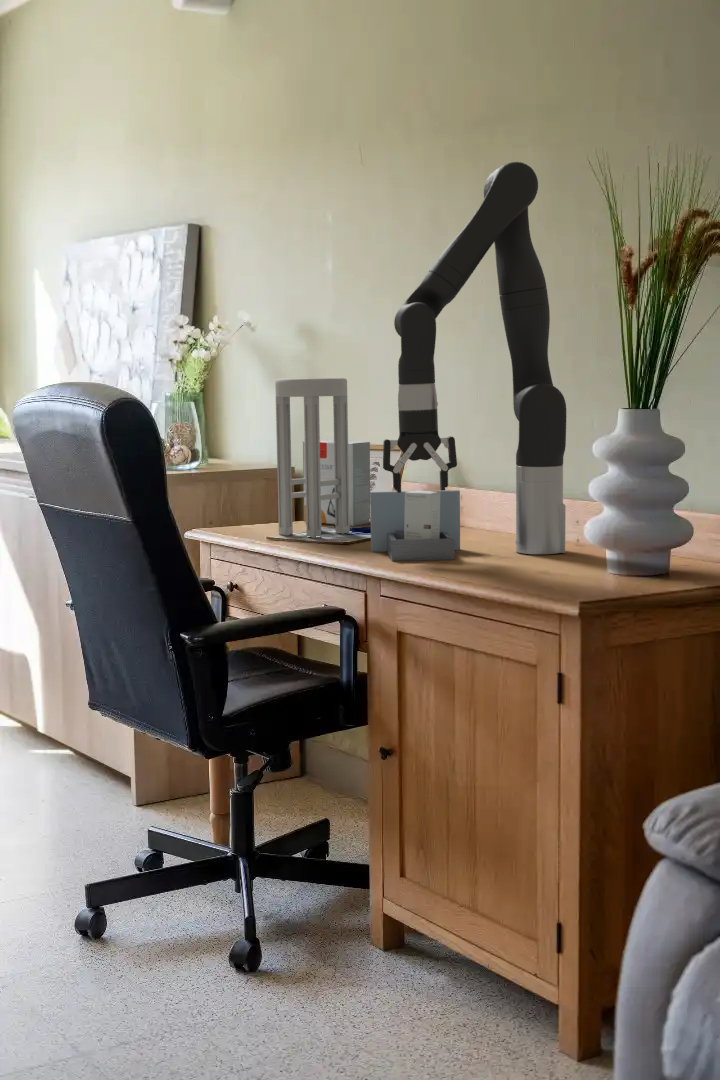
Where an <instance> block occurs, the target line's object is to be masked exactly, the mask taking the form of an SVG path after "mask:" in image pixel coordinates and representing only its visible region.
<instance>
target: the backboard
mask: <svg viewBox="0 0 720 1080" xmlns="http://www.w3.org/2000/svg"><path fill="white" fill-rule="evenodd" d="M409 491H410V490H404V491H403V490H401V493H397V490H395V491H370V550H371V551H370V552H374V553H375V552H387V533H396V531H399V530H402V533H404V515H405V492H409ZM432 491H433V492H440V532H447V533H448V534H449V535H451V536H452V537H453V538H454V551H460V550H461V490H460V489H455V490H453V489H451V490H447V489H445V490H443V491H441V490H440V489H439V490H432Z"/></svg>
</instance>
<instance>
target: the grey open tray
mask: <svg viewBox="0 0 720 1080" xmlns="http://www.w3.org/2000/svg"><path fill="white" fill-rule="evenodd" d="M386 553H387V555H388V557H389V558H390V559H389V560H390V561H391V562H404V561H405V562H409V561H411V562H412V561H416V562H417V561H450V560H451V561H452V560H455V550H454V538H453V537H452V536H451V535H449V534H448V533H447V532H440V534H439V539H404V533H402V530H399V531H396V533H387V551H386Z"/></svg>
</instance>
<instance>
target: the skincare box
mask: <svg viewBox="0 0 720 1080" xmlns="http://www.w3.org/2000/svg"><path fill="white" fill-rule="evenodd" d="M408 491H409V492H405V515H404V539H439V534H440V492H433V491H434V490H408Z"/></svg>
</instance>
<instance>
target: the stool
mask: <svg viewBox="0 0 720 1080" xmlns="http://www.w3.org/2000/svg"><path fill="white" fill-rule="evenodd" d="M274 387H275V388H274V389H275V417H276V418H275V421H276V422H275V424H276V426H275V427H276V428H275V429H276V462H277V463H276V465H277V466H276V469H277V470H276V471H277V472H276V473H277V474H276V475H277V509H278V511H277V512H278V514H277V515H278V517H277V518H278V535H279V536H290V534H292V535H294V534H293V533H294V530H293V529H294V528H293V526H294V525H293V499H300V498H304V497H306V522H305V523H306V526H305V527H306V528H305V529H306V537H307V536H310V537H316V536H321V537H322V523H321V500H328V499H335V524H334V525H335V526H334V527H335V534H336V533H348V534H350V533H351V532H350V531H351V530H350V526H349V466H348V441H349V425H348V424H349V418H348V417H349V415H348V414H349V413H348V411H349V410H348V380H347V378H345V377H316V378H314V377H312V378H311V377H310V378H309V377H308V378H300V377H299V378H277V379H276V380H275V385H274ZM291 397H292V398H296V397H298V398H301V397H302V398H303V423H304V425H303V426H304V427H303V428H304V441H305V478H303V477H302V478H301V477H300V478H292V477H293V476H292V474H293V473H292V439H291V438H292V437H291V436H292V434H291ZM320 397H332V401H333V402H332V403H333V405H332V406H333V408H332V409H333V441H334V470H335V479H334V480H324V481H321V479H320V440H321V437H320V436H321V433H320V431H321V430H320V425H321V424H320ZM305 483H306V491H305V492H304V491H298V492H297V491H295V492H293V488H292V487H293V486H294V485H295V486H296V485H302V484H305ZM330 485H335V493H331V494H322V495H321V486H330ZM349 532H350V533H349Z"/></svg>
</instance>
